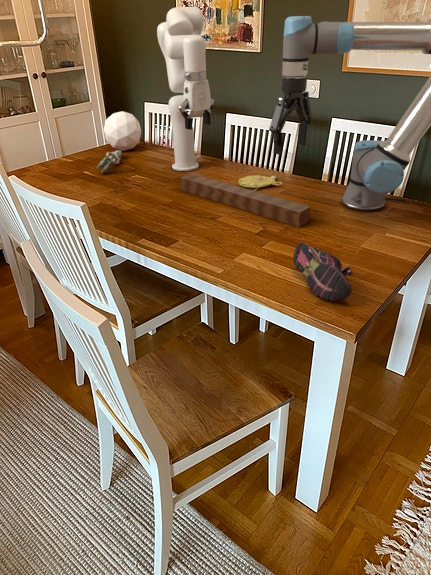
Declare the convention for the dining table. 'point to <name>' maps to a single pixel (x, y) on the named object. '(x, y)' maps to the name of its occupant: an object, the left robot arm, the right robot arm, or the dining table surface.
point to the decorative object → (257, 181)
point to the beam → (247, 200)
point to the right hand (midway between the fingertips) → (289, 149)
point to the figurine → (110, 160)
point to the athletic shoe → (322, 272)
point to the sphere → (122, 131)
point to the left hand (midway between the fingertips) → (197, 126)
